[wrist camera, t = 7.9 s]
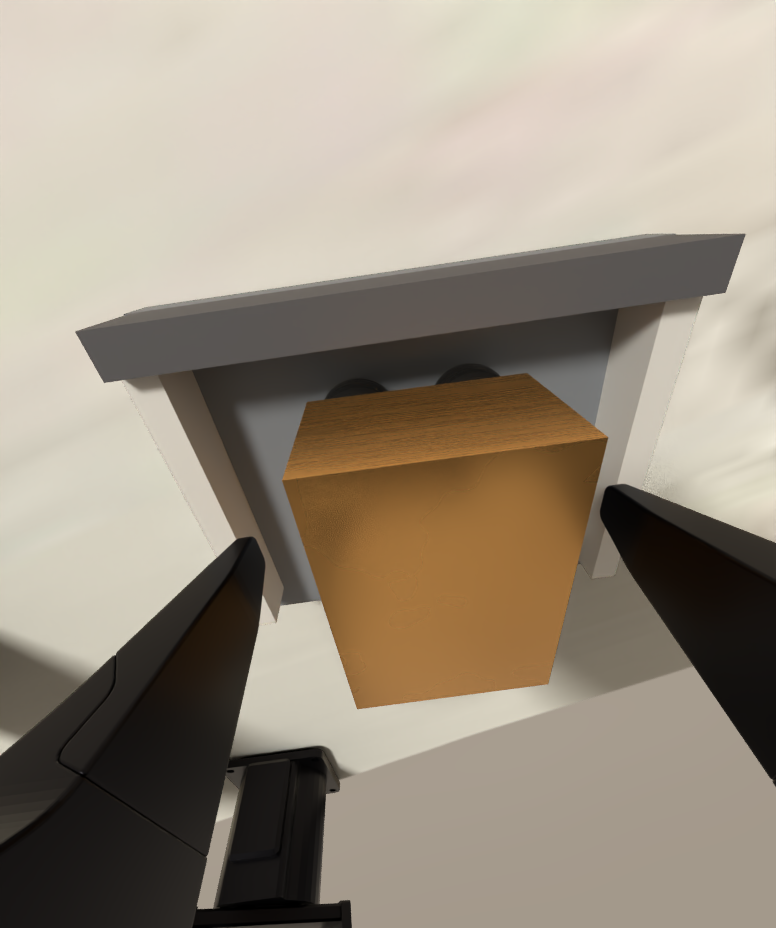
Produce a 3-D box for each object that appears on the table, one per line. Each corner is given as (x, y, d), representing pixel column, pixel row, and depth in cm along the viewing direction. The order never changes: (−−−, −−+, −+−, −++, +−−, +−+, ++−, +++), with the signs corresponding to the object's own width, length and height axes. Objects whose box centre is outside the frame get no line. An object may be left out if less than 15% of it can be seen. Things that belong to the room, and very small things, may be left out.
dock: (578, 543, 15) (622, 605, 12) (271, 586, 15) (253, 657, 13) (646, 234, 9) (756, 232, 7) (145, 307, 9) (64, 333, 7)
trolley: (487, 541, 13) (548, 683, 9) (357, 558, 13) (357, 708, 9) (496, 349, 9) (608, 437, 5) (316, 372, 9) (282, 480, 5)
